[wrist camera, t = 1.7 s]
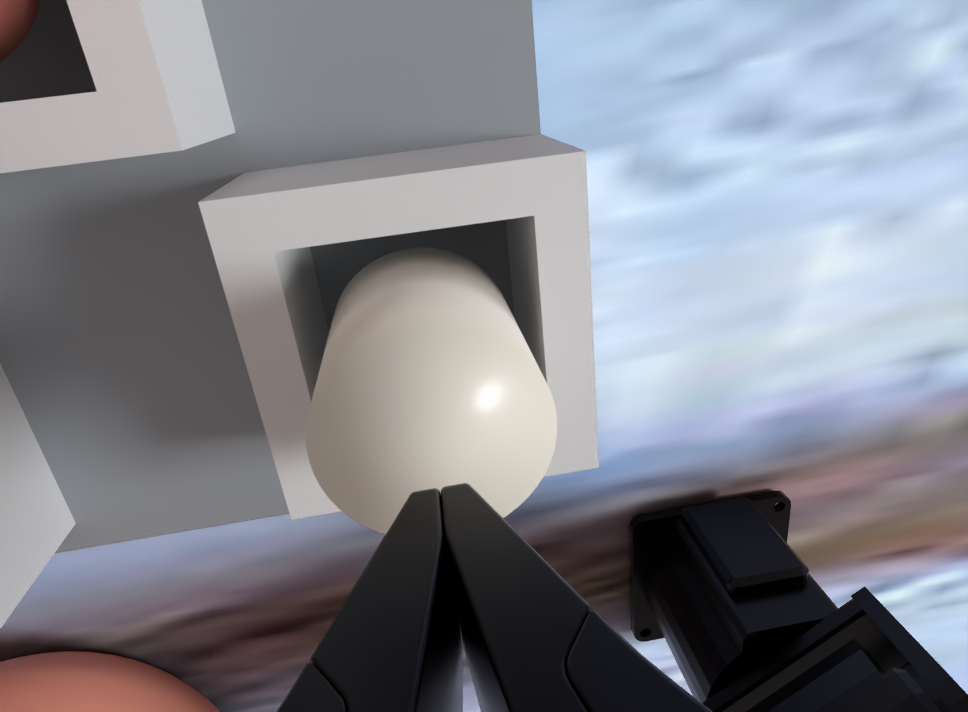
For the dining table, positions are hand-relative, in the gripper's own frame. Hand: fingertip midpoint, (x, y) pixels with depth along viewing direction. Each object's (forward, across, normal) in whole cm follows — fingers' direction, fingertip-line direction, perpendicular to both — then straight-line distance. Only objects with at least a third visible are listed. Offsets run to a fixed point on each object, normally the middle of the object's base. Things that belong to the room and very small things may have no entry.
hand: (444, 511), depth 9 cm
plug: (+7, 0, 0) cm, 7 cm away
